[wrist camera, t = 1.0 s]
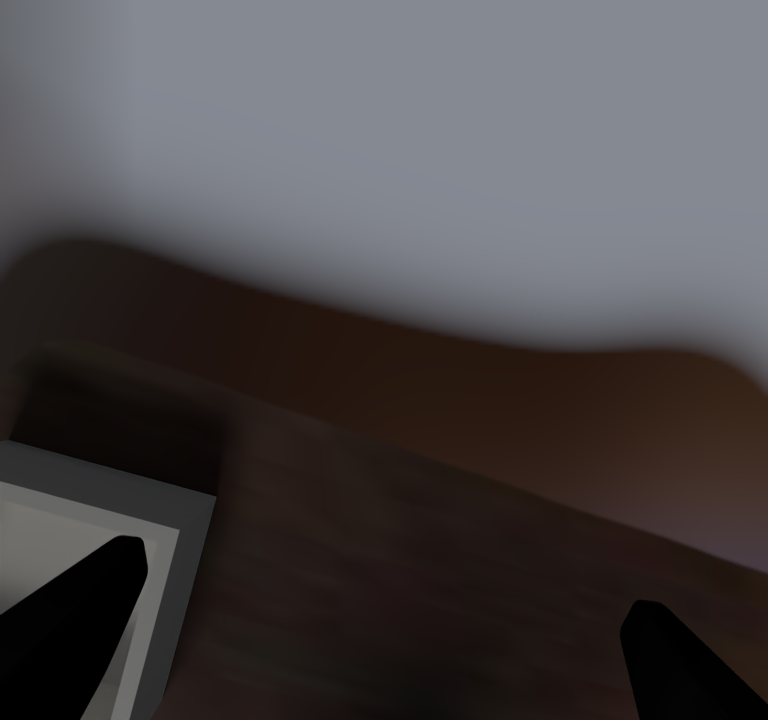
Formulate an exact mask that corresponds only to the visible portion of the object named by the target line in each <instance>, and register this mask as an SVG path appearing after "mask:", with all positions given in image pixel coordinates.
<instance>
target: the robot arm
mask: <svg viewBox="0 0 768 720" xmlns="http://www.w3.org/2000/svg"><path fill="white" fill-rule="evenodd" d="M147 575H148V563H147V557H146V551H145V545H144V541H143V540H142V539H141V538H140V537H135V536H127V535H119V536H116V537H114V538H113V539H111V540H110V541H108V542H107V543H105V544H104V545H102V546H101V547H99V548H98V549H96V550H95V551H93V552H92V553H90V554H89V555H87V556H86V557H84V558H83V559H82V560H80V561H79V562H77V563H76V564H74V565H73V566H71V567H70V568H68V569H67V570H65V571H64V572H62V573H61V574H59V575H58V576H56V577H55V578H53V579H52V580H51V581H49V582H48V583H46V584H45V585H43V586H42V587H40V588H39V589H37V590H36V591H34V592H33V593H31V594H30V595H28V596H27V597H25V598H24V599H22V600H21V601H20V602H18V603H17V604H15V605H14V606H12V607H11V608H9V609H8V610H6V611H5V612H3V613H2V614H0V720H80V719H81V718H82V716H83V714H84V712H85V710H86V709H87V707H88V705H89V703H90V701H91V699H92V698H93V696H94V694H95V692H96V690H97V688H98V687H99V685H100V683H101V681H102V679H103V677H104V675H105V673H106V671H107V669H108V667H109V665H110V662H111V660H112V658H113V656H114V653H115V651H116V649H117V647H118V644H119V642H120V640H121V637H122V635H123V633H124V630H125V628H126V626H127V623H128V621H129V619H130V617H131V614H132V612H133V610H134V607H135V605H136V603H137V600H138V598H139V596H140V593H141V591H142V589H143V587H144V584H145V582H146V579H147ZM620 639H621V644H622V648H623V653H624V657H625V661H626V665H627V669H628V673H629V677H630V682H631V686H632V690H633V694H634V698H635V702H636V706H637V710H638V715H639V719H640V720H768V704H767V703H766V702H765V701H764V700H763V699H762V698H761V697H760V696H759V695H758V694H757V693H756V692H755V691H753V690H752V689H751V688H750V687H749V686H748V685H747V684H746V683H745V682H744V681H743V680H742V679H741V678H740V677H739V676H738V675H737V674H736V673H735V672H734V671H733V670H732V669H731V668H730V667H729V666H727V665H726V664H725V663H724V662H723V661H722V660H721V659H720V658H719V657H718V656H717V655H716V654H715V653H714V652H713V651H712V650H711V649H710V648H709V647H708V646H707V645H706V644H705V643H704V642H703V641H702V640H700V639H699V638H698V637H697V636H696V635H695V634H694V633H693V632H692V631H691V630H690V629H689V628H688V627H687V626H686V625H685V624H684V623H683V622H682V621H681V620H680V619H679V618H678V617H677V616H676V615H674V614H673V613H672V612H671V611H670V610H669V609H668V608H667V607H666V606H665V605H663V604H662V603H660V602H656V601H648V600H637V601H636V602H635V603H634V604H633V606H632V607H631V609H630V611H629V613H628V615H627V617H626V619H625V620H624V622H623V624H622V626H621V631H620Z"/></svg>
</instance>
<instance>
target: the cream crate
mask: <svg viewBox="0 0 768 720" xmlns="http://www.w3.org/2000/svg"><path fill="white" fill-rule="evenodd" d="M215 501H216V496H212V495H209V494H205V493H201V492H198V491H194V490H190V489H187V488H183V487H179V486H176V485H172V484H168V483H165V482H161V481H157V480H154V479H150V478H146V477H143V476H139V475H135V474H132V473H128V472H124V471H121V470H117V469H113V468H110V467H106V466H102V465H99V464H95V463H91V462H88V461H84V460H80V459H77V458H73V457H69V456H66V455H62V454H58V453H55V452H51V451H47V450H44V449H40V448H36V447H33V446H29V445H25V444H22V443H18V442H14V441H11V440H4V441H0V614H2V613H3V612H5V611H6V610H8V609H9V608H11V607H12V606H14V605H15V604H17V603H18V602H20V601H21V600H22V599H24V598H25V597H27V596H28V595H30V594H31V593H33V592H34V591H36V590H37V589H39V588H40V587H42V586H43V585H45V584H46V583H48V582H49V581H51V580H52V579H53V578H55V577H56V576H58V575H59V574H61V573H62V572H64V571H65V570H67V569H68V568H70V567H71V566H73V565H74V564H76V563H77V562H79V561H80V560H82V559H83V558H84V557H86V556H87V555H89V554H90V553H92V552H93V551H95V550H96V549H98V548H99V547H101V546H102V545H104V544H105V543H107V542H108V541H110V540H111V539H113V538H114V537H116V536H119V535H127V536H135V537H140V538H141V539H142V540H143V541H144V545H145V551H146V557H147V563H148V575H147V579H146V582H145V584H144V587H143V589H142V591H141V593H140V596H139V598H138V600H137V603H136V605H135V607H134V610H133V612H132V614H131V617H130V619H129V621H128V623H127V626H126V628H125V630H124V633H123V635H122V637H121V640H120V642H119V644H118V647H117V649H116V651H115V653H114V656H113V658H112V660H111V662H110V665H109V667H108V669H107V671H106V673H105V675H104V677H103V679H102V681H101V683H100V685H99V687H98V688H97V690H96V692H95V694H94V696H93V698H92V699H91V701H90V703H89V705H88V707H87V709H86V710H85V712H84V714H83V716H82V718H81V719H80V720H150V718H151V717H152V715H153V713H154V712H155V710H156V709H157V707H158V705H159V704H160V702H161V701H162V699H163V695H164V691H165V688H166V684H167V680H168V676H169V673H170V669H171V665H172V661H173V658H174V654H175V650H176V647H177V643H178V639H179V635H180V632H181V628H182V624H183V620H184V617H185V613H186V609H187V606H188V602H189V598H190V594H191V591H192V587H193V583H194V579H195V576H196V572H197V568H198V564H199V561H200V557H201V553H202V550H203V546H204V542H205V538H206V535H207V531H208V527H209V523H210V520H211V516H212V512H213V509H214V505H215Z"/></svg>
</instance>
